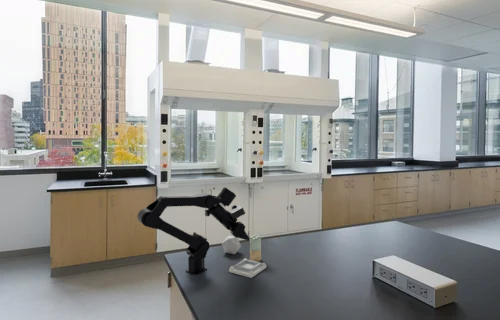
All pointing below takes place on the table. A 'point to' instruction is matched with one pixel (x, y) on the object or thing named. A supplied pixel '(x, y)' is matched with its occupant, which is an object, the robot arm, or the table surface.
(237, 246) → the die
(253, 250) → the tan and green cylinder
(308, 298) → the table surface
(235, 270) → the baseplate
